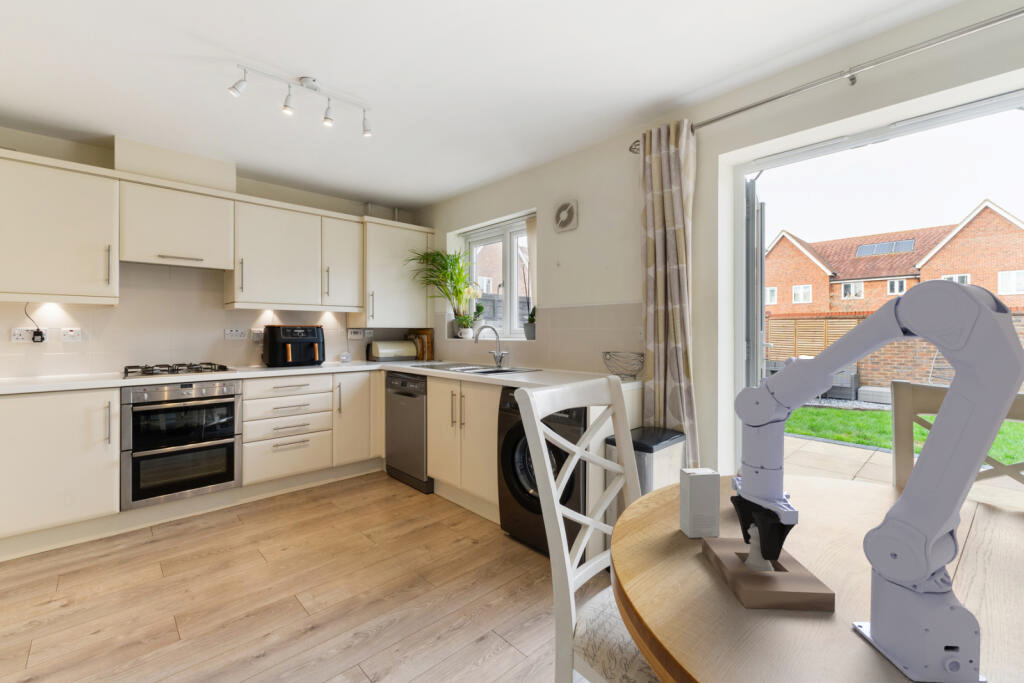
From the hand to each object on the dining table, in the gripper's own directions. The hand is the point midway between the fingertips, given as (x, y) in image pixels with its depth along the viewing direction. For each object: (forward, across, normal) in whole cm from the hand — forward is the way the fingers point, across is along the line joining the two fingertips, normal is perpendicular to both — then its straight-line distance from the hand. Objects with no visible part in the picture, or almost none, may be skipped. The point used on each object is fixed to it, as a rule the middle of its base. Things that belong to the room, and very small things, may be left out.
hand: (760, 550), depth 69 cm
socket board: (+4, 0, 0) cm, 4 cm away
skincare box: (+4, +15, +3) cm, 16 cm away
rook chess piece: (+4, 0, 0) cm, 4 cm away
